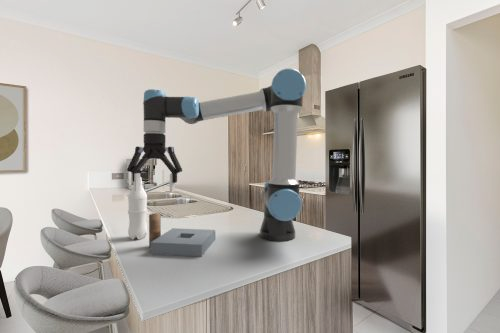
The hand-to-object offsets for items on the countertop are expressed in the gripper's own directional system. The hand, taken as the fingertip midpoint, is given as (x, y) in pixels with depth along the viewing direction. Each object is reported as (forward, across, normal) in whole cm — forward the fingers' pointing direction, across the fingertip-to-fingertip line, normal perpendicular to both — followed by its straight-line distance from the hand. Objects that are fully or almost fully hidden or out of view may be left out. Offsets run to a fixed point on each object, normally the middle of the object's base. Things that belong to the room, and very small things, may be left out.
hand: (154, 191), depth 93 cm
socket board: (+20, -11, -2) cm, 23 cm away
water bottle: (+21, +12, -9) cm, 25 cm away
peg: (+21, 0, 0) cm, 21 cm away
